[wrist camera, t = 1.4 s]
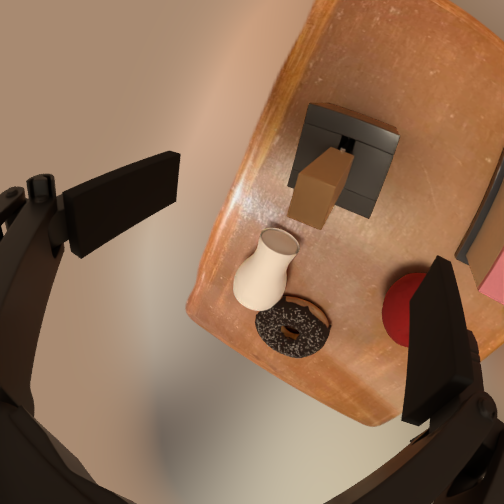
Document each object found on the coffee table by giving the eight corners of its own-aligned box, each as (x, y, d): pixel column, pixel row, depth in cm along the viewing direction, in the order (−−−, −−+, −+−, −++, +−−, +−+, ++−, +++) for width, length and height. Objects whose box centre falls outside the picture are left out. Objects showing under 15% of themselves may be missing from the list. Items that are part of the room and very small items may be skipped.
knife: (346, 132, 29) (299, 168, 14) (364, 138, 28) (337, 183, 14) (339, 156, 31) (285, 220, 16) (356, 163, 30) (319, 234, 15)
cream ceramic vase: (266, 215, 39) (244, 268, 46) (243, 238, 34) (221, 294, 40) (313, 241, 38) (284, 292, 44) (297, 269, 33) (266, 322, 39)
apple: (455, 266, 31) (468, 316, 23) (438, 320, 35) (441, 373, 27) (389, 256, 34) (386, 305, 27) (379, 311, 39) (371, 364, 31)
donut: (320, 353, 47) (314, 370, 44) (257, 330, 51) (247, 345, 48) (339, 307, 41) (333, 325, 38) (265, 281, 45) (254, 297, 42)
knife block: (328, 102, 29) (308, 102, 22) (396, 127, 27) (400, 135, 20) (310, 165, 34) (287, 186, 27) (373, 190, 32) (368, 219, 25)
